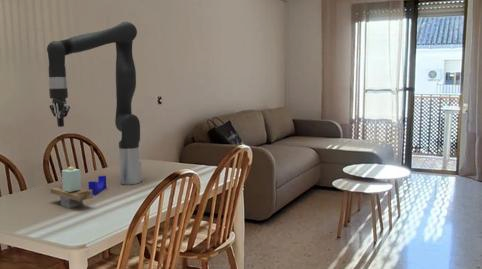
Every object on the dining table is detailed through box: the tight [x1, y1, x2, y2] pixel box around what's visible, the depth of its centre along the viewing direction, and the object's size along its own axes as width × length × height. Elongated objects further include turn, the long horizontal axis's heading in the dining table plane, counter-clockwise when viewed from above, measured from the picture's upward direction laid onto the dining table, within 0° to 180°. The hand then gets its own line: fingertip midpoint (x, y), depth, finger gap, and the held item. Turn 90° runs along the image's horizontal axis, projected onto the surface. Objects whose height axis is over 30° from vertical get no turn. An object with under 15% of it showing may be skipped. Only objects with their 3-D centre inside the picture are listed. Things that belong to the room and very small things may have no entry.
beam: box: [49, 185, 94, 209], centre depth 185 cm, size 6×20×7 cm, turn 53°
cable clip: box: [87, 175, 108, 196], centre depth 206 cm, size 12×4×6 cm, turn 174°
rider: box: [61, 166, 82, 192], centre depth 183 cm, size 5×5×9 cm
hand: (60, 126), depth 205 cm, fingers closed
